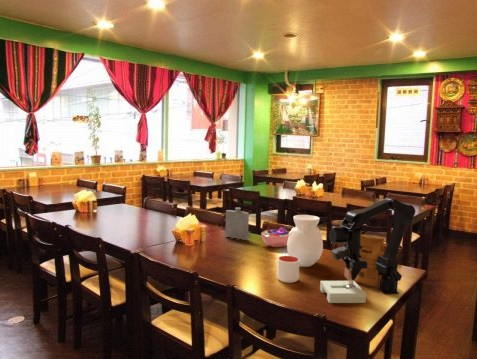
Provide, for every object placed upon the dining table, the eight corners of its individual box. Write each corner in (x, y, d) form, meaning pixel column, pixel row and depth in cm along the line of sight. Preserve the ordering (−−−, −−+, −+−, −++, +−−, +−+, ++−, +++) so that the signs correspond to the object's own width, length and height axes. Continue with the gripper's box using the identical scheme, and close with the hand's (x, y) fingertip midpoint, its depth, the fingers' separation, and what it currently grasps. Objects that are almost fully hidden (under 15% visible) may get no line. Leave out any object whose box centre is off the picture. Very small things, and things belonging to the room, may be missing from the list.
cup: (296, 276, 194) (297, 255, 193) (300, 283, 184) (301, 262, 183) (275, 275, 193) (276, 255, 192) (278, 283, 184) (279, 262, 182)
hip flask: (224, 237, 261) (225, 206, 259) (227, 236, 265) (228, 205, 263) (246, 241, 254) (247, 209, 252) (249, 239, 258) (250, 208, 255)
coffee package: (359, 276, 196) (362, 231, 193) (385, 283, 188) (388, 236, 185) (350, 281, 188) (353, 235, 186) (376, 288, 180) (380, 240, 178)
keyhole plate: (353, 289, 179) (354, 280, 178) (365, 302, 165) (366, 293, 164) (320, 289, 178) (320, 280, 177) (329, 302, 164) (329, 293, 163)
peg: (353, 287, 173) (355, 267, 172) (357, 291, 169) (358, 270, 168) (343, 287, 173) (344, 266, 172) (347, 291, 169) (348, 270, 168)
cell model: (255, 244, 248) (256, 226, 247) (283, 241, 256) (284, 223, 255) (269, 251, 233) (269, 232, 231) (298, 248, 241) (299, 229, 240)
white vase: (321, 271, 201) (324, 222, 199) (284, 267, 205) (286, 219, 202) (321, 260, 220) (324, 214, 217) (287, 257, 223) (289, 212, 220)
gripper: (327, 235, 177) (326, 270, 179) (341, 247, 159) (339, 286, 161) (352, 236, 178) (350, 270, 180) (369, 248, 160) (366, 286, 162)
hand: (351, 277), depth 171 cm, fingers closed on peg, 4 cm apart
